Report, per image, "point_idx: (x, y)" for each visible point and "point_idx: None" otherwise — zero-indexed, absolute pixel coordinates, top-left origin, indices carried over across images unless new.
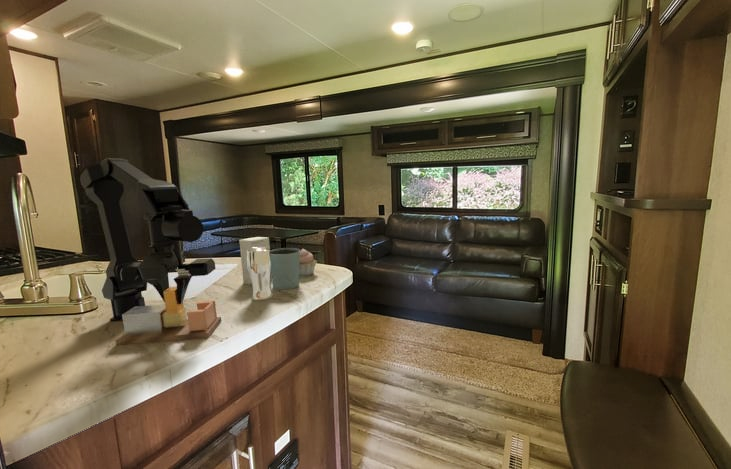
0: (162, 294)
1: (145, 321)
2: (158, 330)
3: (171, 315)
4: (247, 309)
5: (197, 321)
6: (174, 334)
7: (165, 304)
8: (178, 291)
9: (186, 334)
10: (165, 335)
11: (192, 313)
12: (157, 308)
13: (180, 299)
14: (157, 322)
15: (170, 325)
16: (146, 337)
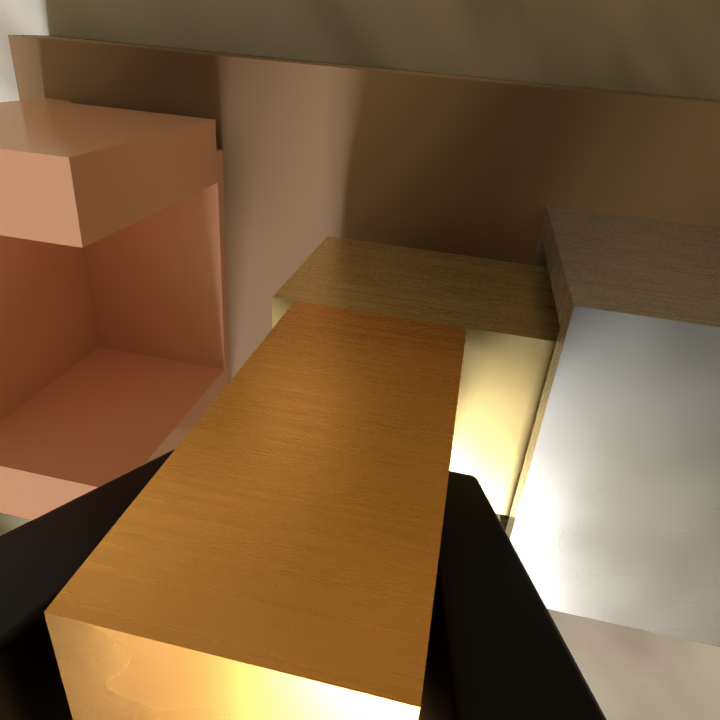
0: (499, 654)
1: None
2: (586, 218)
3: (398, 302)
4: (8, 530)
5: (44, 117)
6: (375, 101)
7: (451, 418)
8: (17, 587)
9: (232, 59)
10: (477, 97)
11: (4, 141)
12: (645, 498)
13: (161, 465)
14: (600, 252)
15: (447, 259)
16: (716, 105)
